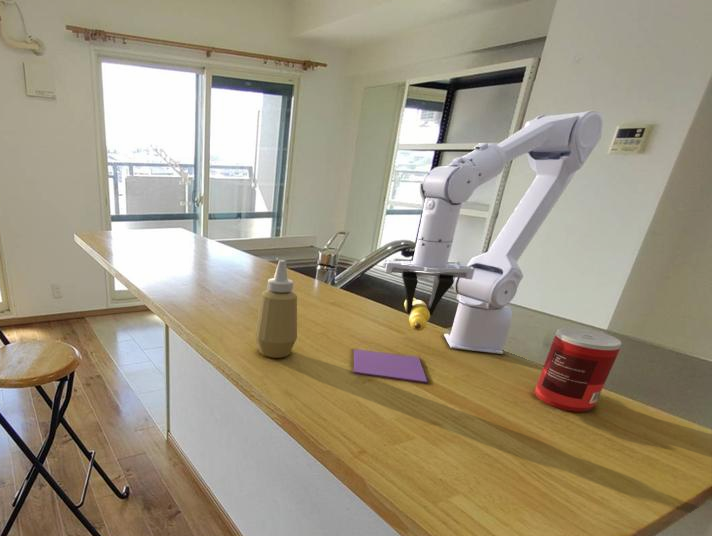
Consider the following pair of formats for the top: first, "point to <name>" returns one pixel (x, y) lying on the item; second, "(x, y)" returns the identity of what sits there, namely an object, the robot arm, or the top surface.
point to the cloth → (388, 365)
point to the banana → (418, 315)
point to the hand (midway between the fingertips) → (418, 312)
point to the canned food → (577, 368)
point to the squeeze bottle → (277, 316)
